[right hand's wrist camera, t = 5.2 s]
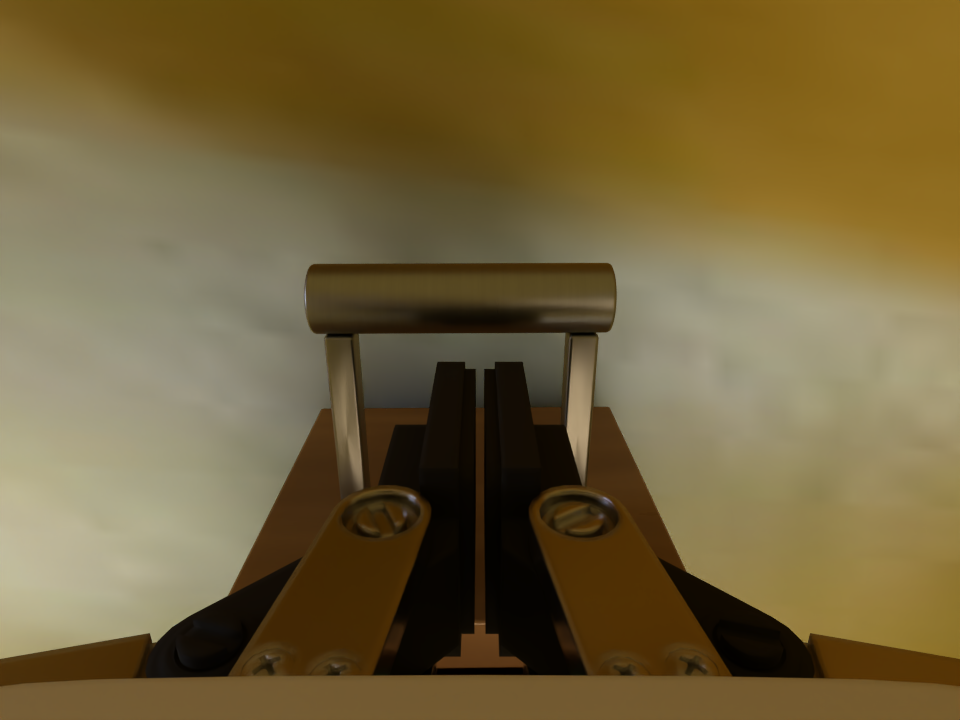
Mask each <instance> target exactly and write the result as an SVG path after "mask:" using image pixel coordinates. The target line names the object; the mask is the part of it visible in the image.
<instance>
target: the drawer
mask: <svg viewBox="0 0 960 720" xmlns="http://www.w3.org/2000/svg"><path fill="white" fill-rule="evenodd" d="M616 300H617V291H616V279H615V274H614V270H613V268H612V266H611V265H610V264H609V263H454V264H313V265H311V266H310V267H309V269H308V271H307V275H306V279H305V288H304V303H305V312H306V318H307V322H308V325H309V327H310V329H311V331H312V332H313V333H315V334H327V335H326V336H325V338H324V341H325V351H326V361H327V370H328V380H329V390H330V399H331V409H322V410H321V411H320V413H319V415H318V417H317V419H316V421H315V423H314V425H313V427H312V429H311V431H310V433H309V435H308V437H307V439H306V441H305V443H304V445H303V447H302V449H301V451H300V453H299V455H298V457H297V459H296V461H295V463H294V465H293V467H292V469H291V471H290V473H289V475H288V477H287V479H286V481H285V483H284V485H283V487H282V489H281V491H280V493H279V495H278V497H277V499H276V501H275V503H274V505H273V507H272V509H271V511H270V513H269V515H268V517H267V519H266V521H265V523H264V525H263V527H262V529H261V531H260V533H259V535H258V537H257V539H256V541H255V543H254V545H253V547H252V549H251V551H250V553H249V555H248V557H247V559H246V561H245V563H244V565H243V567H242V569H241V571H240V573H239V575H238V577H237V579H236V581H235V583H234V585H233V587H232V589H231V591H230V593H229V595H231V594H233V593H235V592H237V591H238V590H240V589H242V588H244V587H246V586H248V585H250V584H252V583H254V582H256V581H258V580H259V579H261V578H263V577H265V576H267V575H269V574H271V573H273V572H275V571H277V570H278V569H280V568H282V567H284V566H286V565H288V564H290V563H292V562H294V561H296V560H298V559H299V558H301V557H303V556H304V554H305V553H306V551H307V550H308V548H309V546H310V545H311V543H312V542H313V540H314V539H315V537H316V535H317V534H318V532H319V531H320V529H321V527H322V526H323V524H324V523H325V521H326V520H327V518H328V516H329V515H330V513H331V512H332V510H333V508H334V507H335V506H336V505H337V504H338V503H339V502H340V501H341V500H342V499H343V498H345V497H347V496H348V495H350V494H351V493H353V492H356V491H359V490H362V489H364V488H368V487H374V486H378V483H379V480H380V476H381V473H382V469H383V465H384V462H385V458H386V455H387V451H388V448H389V444H390V440H391V437H392V433H393V430H394V427H395V425H426V424H427V418H428V413H429V408H364V397H363V385H362V372H361V360H360V348H359V335H358V334H388V333H565V349H564V367H563V384H562V402H561V407H531V413H532V418H533V424H534V425H565V427H566V430H567V433H568V437H569V440H570V444H571V448H572V451H573V455H574V458H575V462H576V465H577V469H578V473H579V476H580V480H581V483H582V486H586V487H592V488H596V489H598V490H601V491H604V492H607V493H609V494H610V495H612V496H613V497H615V498H617V499H618V500H619V501H620V502H621V503H622V504H623V505H624V506H625V507H626V508H627V510H628V512H629V513H630V515H631V516H632V518H633V520H634V521H635V523H636V524H637V526H638V527H639V529H640V531H641V532H642V534H643V535H644V537H645V539H646V540H647V542H648V543H649V545H650V546H651V548H652V550H653V551H654V553H655V554H656V556H657V557H659V558H661V559H662V560H664V561H666V562H668V563H670V564H672V565H674V566H676V567H678V568H680V569H682V570H683V571H685V572H686V570H685V568H684V565H683V563H682V561H681V559H680V557H679V555H678V553H677V550H676V548H675V546H674V544H673V542H672V540H671V538H670V536H669V533H668V531H667V529H666V527H665V525H664V523H663V521H662V518H661V516H660V514H659V512H658V510H657V508H656V506H655V504H654V501H653V499H652V497H651V495H650V493H649V491H648V489H647V486H646V484H645V482H644V480H643V478H642V476H641V474H640V472H639V469H638V467H637V465H636V463H635V461H634V459H633V457H632V454H631V452H630V450H629V448H628V446H627V444H626V442H625V440H624V437H623V435H622V433H621V431H620V429H619V427H618V425H617V422H616V420H615V418H614V416H613V414H612V412H611V410H610V408H609V407H593V402H594V389H595V376H596V364H597V351H598V335H597V333H596V332H608V331H610V330H611V328H612V325H613V322H614V318H615V312H616ZM229 595H228V596H229ZM437 675H523V662H522V661H520V660H519V659H518V658H517V657H499V637H498V634H485V545H484V408H476V545H475V634H462V637H461V657H443V658H442V659H441V660H440V661H438V662H437Z"/></svg>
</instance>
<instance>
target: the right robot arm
mask: <svg viewBox="0 0 960 720" xmlns="http://www.w3.org/2000/svg"><path fill="white" fill-rule="evenodd" d="M475 545H476V369H465V362H437V367H436V373H435V379H434V384H433V390H432V396H431V401H430V407H429V413H428V418H427V424H426V425H395V427H394V430H393V433H392V437H391V440H390V444H389V448H388V451H387V455H386V458H385V462H384V465H383V469H382V473H381V476H380V480H379V483H378V486H374V487H368V488H364V489H362V490H359V491H356V492H353V493H351V494H350V495H348V496H347V497H345V498H343V499H342V500H341V501H340V502H339V503H338V504H337V505H336V506H335V507H334V508H333V510H332V512H331V513H330V515H329V516H328V518H327V520H326V521H325V523H324V524H323V526H322V527H321V529H320V531H319V532H318V534H317V535H316V537H315V539H314V540H313V542H312V543H311V545H310V546H309V548H308V550H307V551H306V553H305V554H304V556H303V557H301V558H299V559H298V560H296V561H294V562H292V563H290V564H288V565H286V566H284V567H282V568H280V569H278V570H277V571H275V572H273V573H271V574H269V575H267V576H265V577H263V578H261V579H259V580H258V581H256V582H254V583H252V584H250V585H248V586H246V587H244V588H242V589H240V590H238V591H237V592H235V593H233V594H231V595H229V596H227V597H225V598H223V599H221V600H219V601H217V602H216V603H214V604H212V605H210V606H208V607H206V608H204V609H202V610H200V611H198V612H197V613H195V614H193V615H191V616H189V617H187V618H186V619H184V620H183V621H181V622H180V623H178V624H177V625H175V626H173V627H172V628H171V629H170V630H169V631H168V632H167V633H166V634H165V635H164V636H163V637H162V638H161V639H160V640H159V641H158V642H156V643H152V640H151V636H150V633H148V634H143V635H137V636H131V637H125V638H119V639H114V640H108V641H102V642H96V643H91V644H85V645H79V646H73V647H67V648H62V649H56V650H50V651H44V652H39V653H33V654H27V655H21V656H15V657H10V658H4V659H0V720H960V659H956V658H950V657H945V656H939V655H933V654H927V653H921V652H916V651H910V650H904V649H898V648H893V647H887V646H881V645H875V644H869V643H864V642H858V641H852V640H846V639H841V638H835V637H829V636H823V635H817V634H812V633H810V636H809V640H808V643H804V642H802V641H801V640H800V639H799V638H798V637H797V636H796V635H795V634H794V633H793V632H792V631H791V630H790V629H789V628H788V627H787V626H785V625H783V624H782V623H780V622H779V621H777V620H776V619H774V618H773V617H771V616H769V615H767V614H765V613H763V612H762V611H760V610H758V609H756V608H754V607H752V606H750V605H748V604H746V603H744V602H743V601H741V600H739V599H737V598H735V597H733V596H731V595H729V594H727V593H725V592H723V591H722V590H720V589H718V588H716V587H714V586H712V585H710V584H708V583H706V582H704V581H702V580H701V579H699V578H697V577H695V576H693V575H691V574H689V573H687V572H685V571H683V570H682V569H680V568H678V567H676V566H674V565H672V564H670V563H668V562H666V561H664V560H662V559H661V558H659V557H657V556H656V554H655V553H654V551H653V550H652V548H651V546H650V545H649V543H648V542H647V540H646V539H645V537H644V535H643V534H642V532H641V531H640V529H639V527H638V526H637V524H636V523H635V521H634V520H633V518H632V516H631V515H630V513H629V512H628V510H627V508H626V507H625V506H624V505H623V504H622V503H621V502H620V501H619V500H618V499H617V498H615V497H613V496H612V495H610V494H609V493H607V492H604V491H601V490H598V489H596V488H592V487H586V486H582V483H581V480H580V476H579V473H578V469H577V465H576V462H575V458H574V455H573V451H572V448H571V444H570V440H569V437H568V433H567V430H566V427H565V425H534V424H533V418H532V413H531V407H530V401H529V396H528V390H527V384H526V379H525V373H524V367H523V362H495V369H484V545H485V634H498V637H499V657H517V658H518V659H519V660H520V661H522V662H523V675H437V662H438V661H440V660H441V659H442V658H443V657H461V637H462V634H475Z"/></svg>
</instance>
